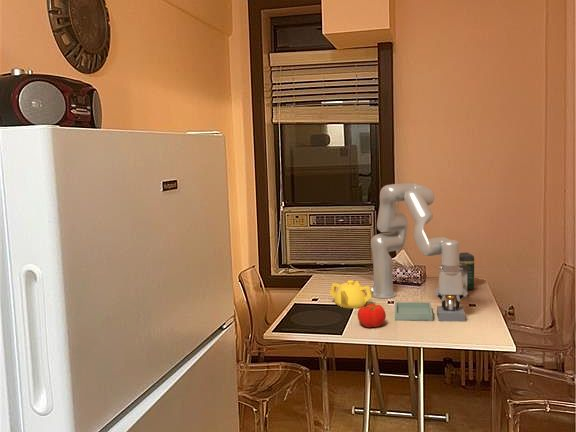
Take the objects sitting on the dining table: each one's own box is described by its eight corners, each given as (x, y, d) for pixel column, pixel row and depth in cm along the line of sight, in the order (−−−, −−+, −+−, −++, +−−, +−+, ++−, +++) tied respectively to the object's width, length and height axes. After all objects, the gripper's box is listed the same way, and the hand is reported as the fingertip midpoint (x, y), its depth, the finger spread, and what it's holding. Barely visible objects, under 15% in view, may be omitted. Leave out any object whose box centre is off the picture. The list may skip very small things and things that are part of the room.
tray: (394, 320, 264) (394, 313, 264) (395, 308, 283) (395, 302, 283) (432, 321, 262) (432, 314, 261) (430, 308, 280) (430, 302, 280)
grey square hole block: (438, 321, 261) (438, 313, 261) (437, 313, 272) (436, 306, 271) (465, 321, 259) (464, 313, 259) (462, 314, 270) (462, 306, 269)
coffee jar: (475, 290, 310) (475, 254, 308) (460, 290, 311) (460, 255, 308) (471, 285, 319) (471, 251, 317) (456, 286, 320) (456, 251, 318)
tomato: (366, 319, 268) (366, 300, 267) (391, 324, 260) (391, 304, 259) (350, 326, 258) (350, 307, 257) (375, 331, 250) (375, 311, 249)
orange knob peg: (445, 319, 264) (445, 296, 262) (445, 316, 268) (444, 293, 267) (456, 319, 263) (456, 296, 262) (455, 316, 267) (455, 293, 266)
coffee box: (448, 297, 298) (448, 265, 296) (446, 294, 304) (446, 263, 302) (467, 297, 297) (467, 265, 295) (465, 294, 303) (465, 262, 301)
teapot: (328, 302, 298) (327, 278, 296) (359, 298, 303) (359, 275, 301) (342, 311, 282) (341, 286, 280) (374, 307, 287) (374, 282, 285)
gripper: (430, 270, 261) (431, 311, 263) (471, 270, 258) (471, 312, 260) (429, 266, 268) (430, 306, 270) (469, 266, 265) (469, 307, 267)
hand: (450, 308), depth 265 cm, fingers open, 4 cm apart
